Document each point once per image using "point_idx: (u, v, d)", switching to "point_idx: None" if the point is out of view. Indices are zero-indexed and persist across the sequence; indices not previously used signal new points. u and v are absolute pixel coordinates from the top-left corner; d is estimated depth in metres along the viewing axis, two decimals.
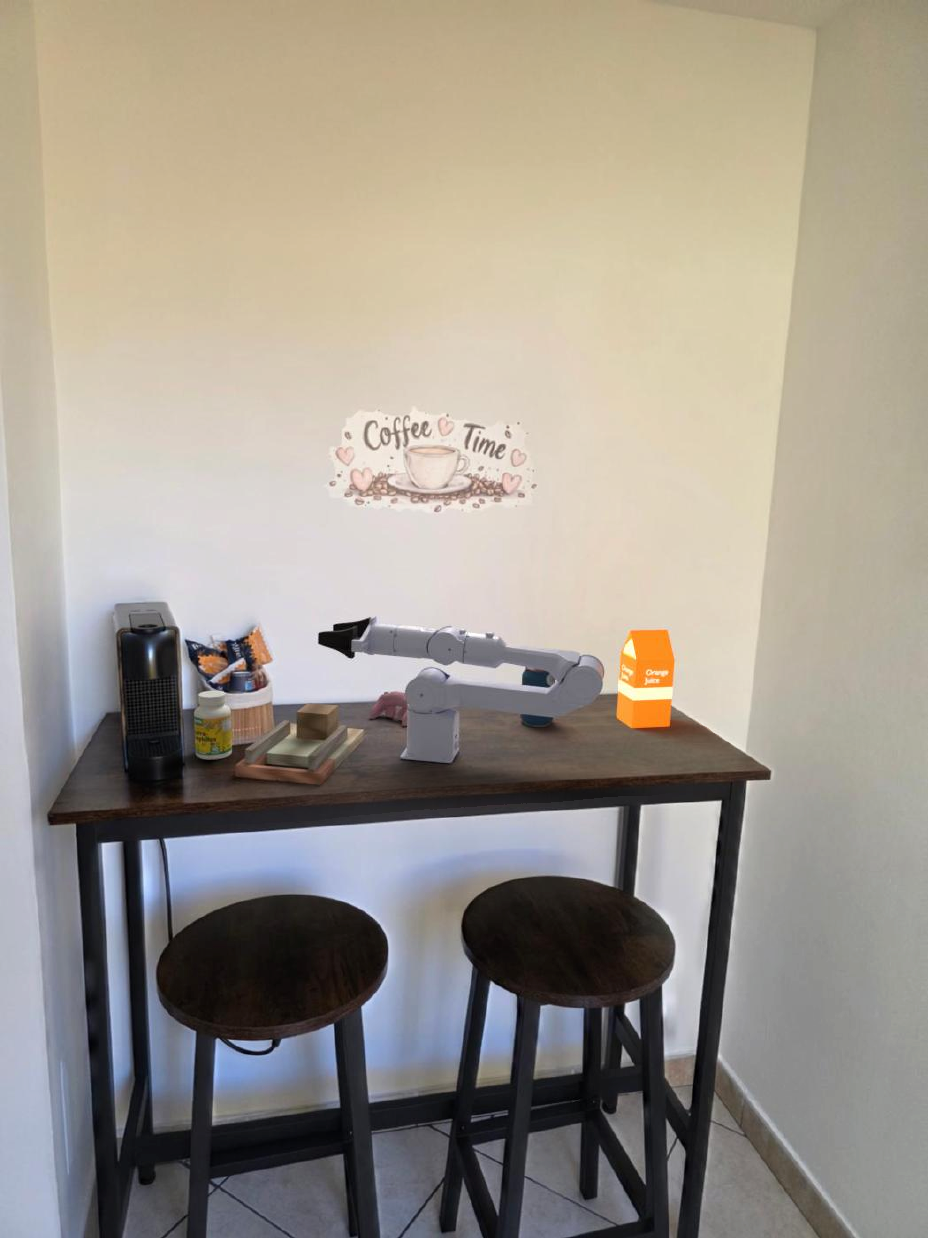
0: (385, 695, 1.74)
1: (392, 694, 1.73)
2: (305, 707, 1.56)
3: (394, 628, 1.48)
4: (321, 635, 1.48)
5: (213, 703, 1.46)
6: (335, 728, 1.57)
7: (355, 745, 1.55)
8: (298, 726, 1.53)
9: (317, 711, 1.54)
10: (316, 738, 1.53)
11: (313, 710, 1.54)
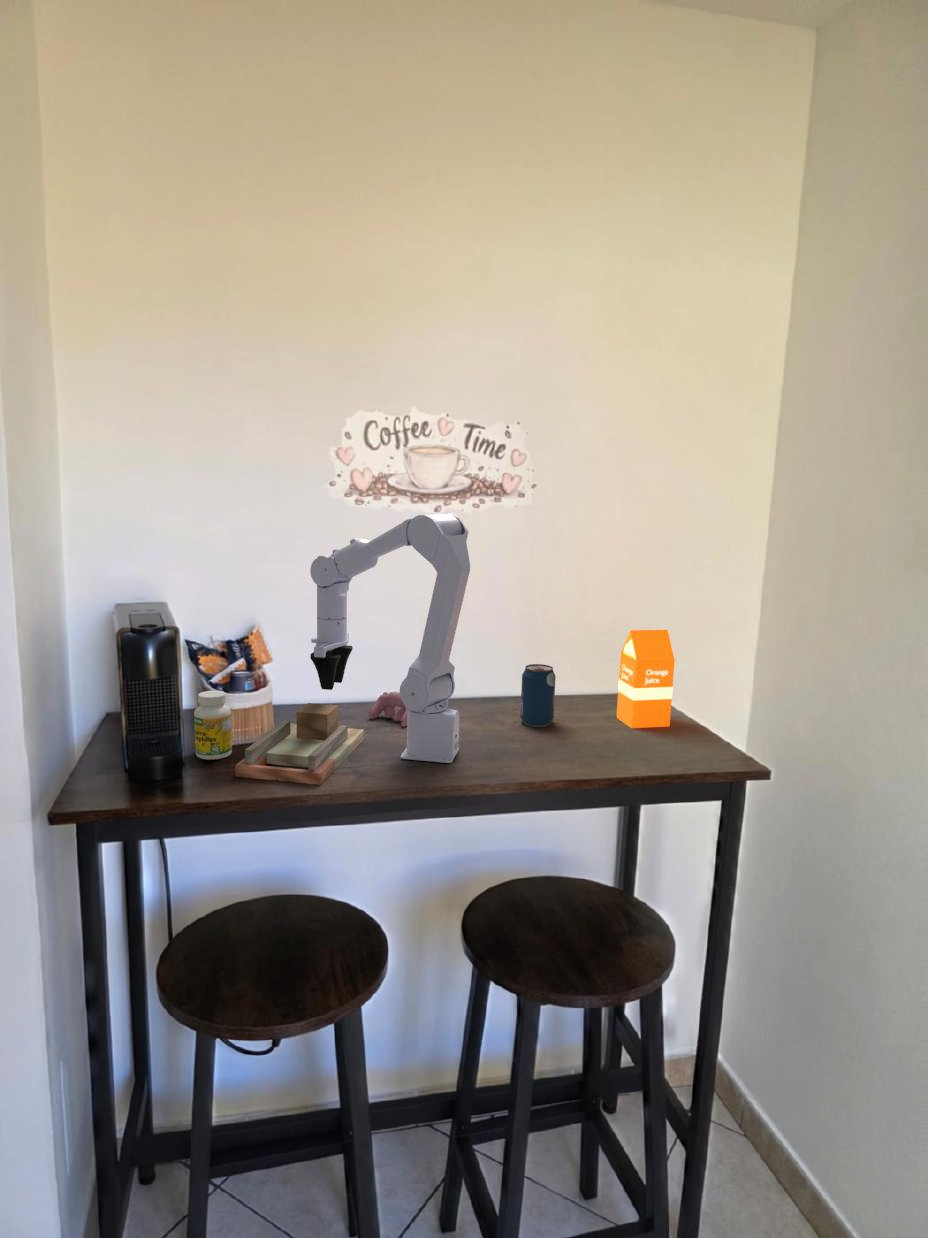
0: (384, 695, 1.73)
1: (391, 694, 1.72)
2: (305, 707, 1.56)
3: (317, 619, 1.59)
4: (323, 686, 1.59)
5: (213, 703, 1.46)
6: (335, 728, 1.57)
7: (355, 745, 1.55)
8: (298, 726, 1.53)
9: (317, 711, 1.54)
10: (316, 738, 1.53)
11: (313, 710, 1.54)
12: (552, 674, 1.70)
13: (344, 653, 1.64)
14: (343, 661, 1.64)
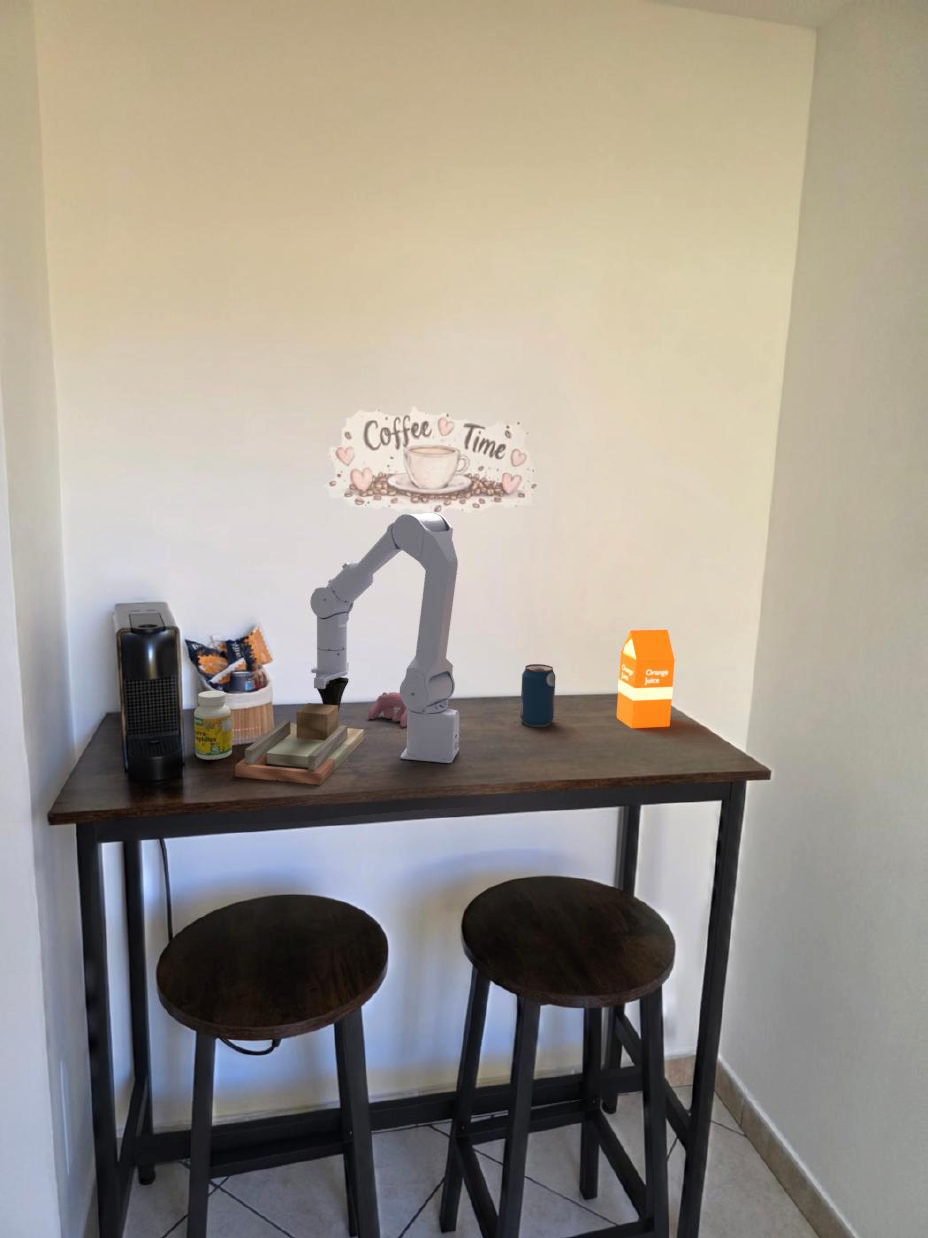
0: (383, 696, 1.73)
1: (390, 695, 1.72)
2: (305, 707, 1.56)
3: (317, 649, 1.60)
4: None
5: (213, 703, 1.46)
6: (335, 728, 1.57)
7: (355, 745, 1.55)
8: (298, 726, 1.53)
9: (317, 711, 1.54)
10: (316, 738, 1.53)
11: (313, 710, 1.54)
12: (552, 674, 1.70)
13: None
14: None
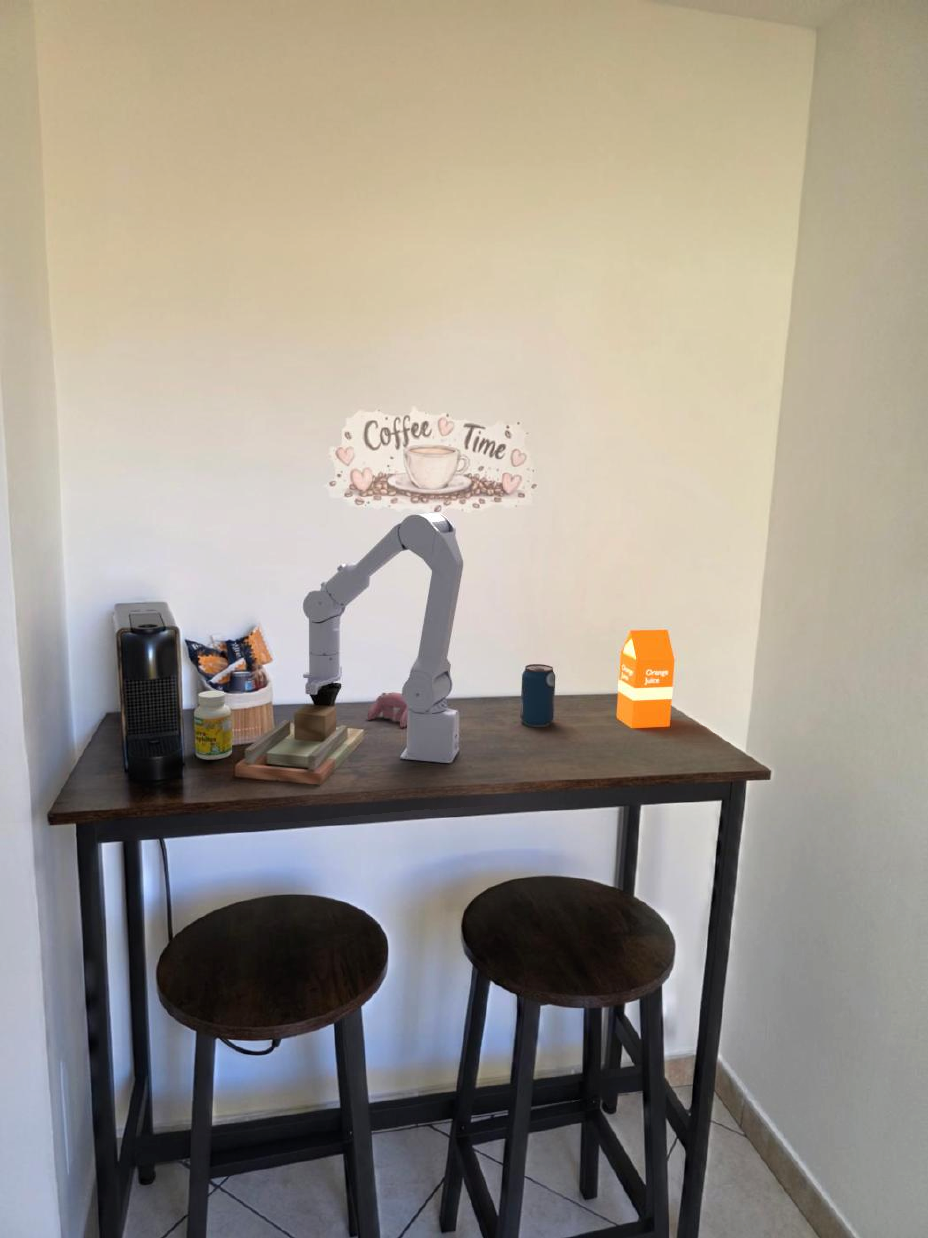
0: (383, 696, 1.73)
1: (390, 695, 1.72)
2: (303, 708, 1.55)
3: (309, 654, 1.56)
4: None
5: (213, 703, 1.46)
6: (333, 729, 1.56)
7: (355, 745, 1.55)
8: (296, 727, 1.52)
9: (315, 712, 1.53)
10: (314, 739, 1.52)
11: (311, 711, 1.53)
12: (552, 674, 1.70)
13: None
14: None
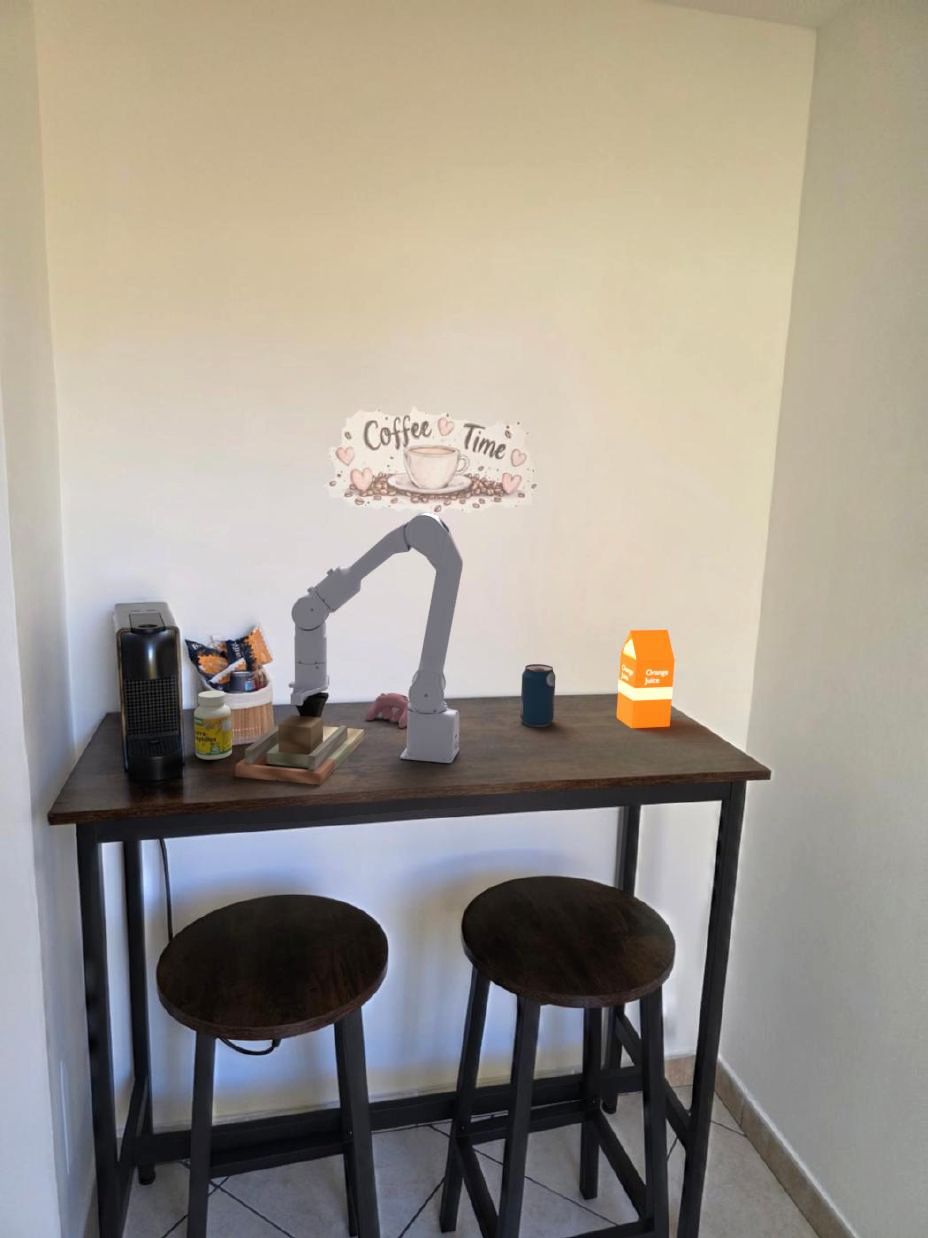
0: (382, 697, 1.73)
1: (389, 696, 1.72)
2: (288, 719, 1.48)
3: None
4: None
5: (213, 703, 1.46)
6: (320, 741, 1.49)
7: (355, 745, 1.55)
8: (280, 740, 1.45)
9: (300, 723, 1.46)
10: (299, 752, 1.45)
11: (296, 722, 1.46)
12: (552, 674, 1.70)
13: None
14: None
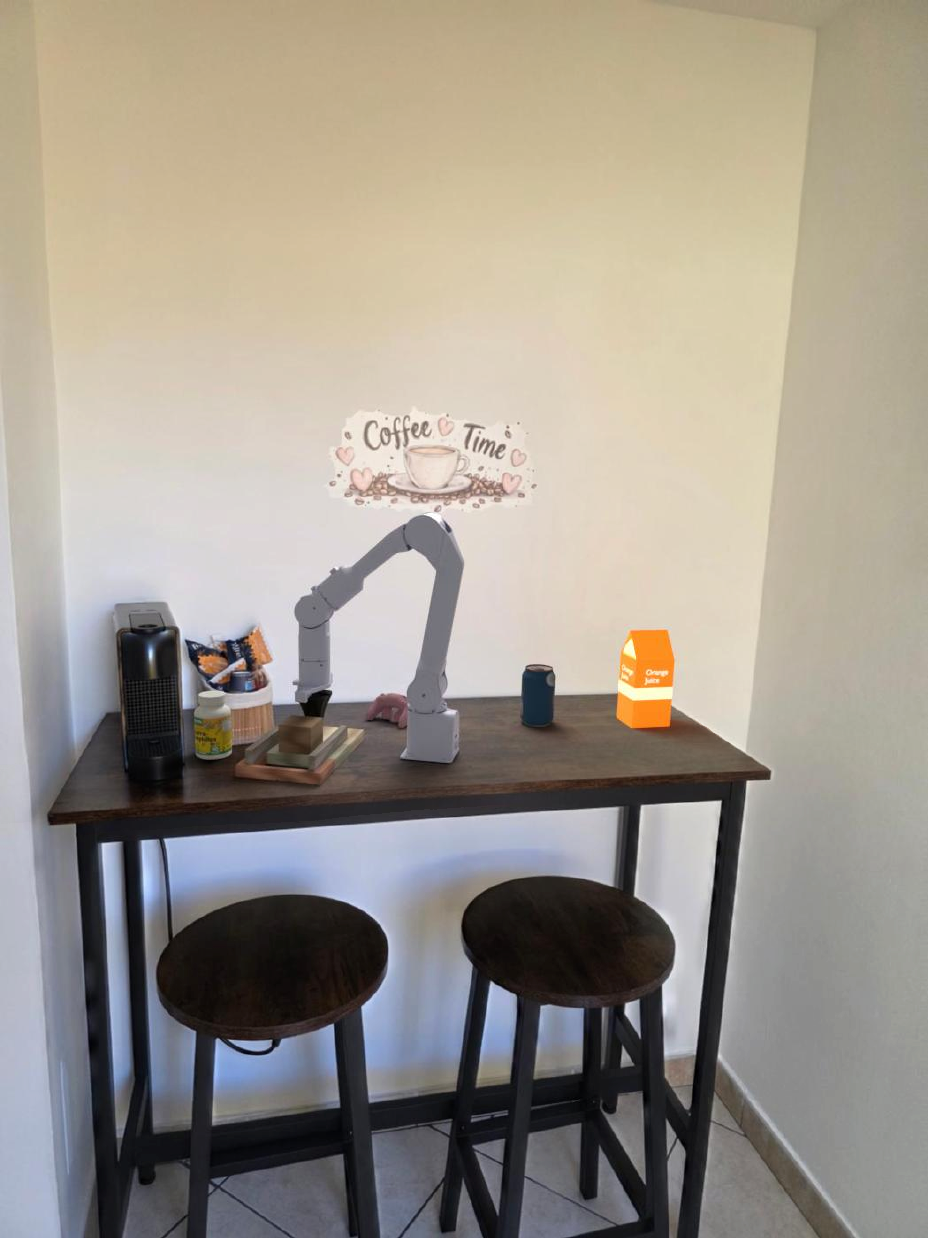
0: (381, 697, 1.72)
1: (388, 696, 1.72)
2: (288, 719, 1.48)
3: None
4: None
5: (213, 703, 1.46)
6: (320, 741, 1.49)
7: (355, 745, 1.55)
8: (280, 740, 1.45)
9: (300, 723, 1.46)
10: (299, 752, 1.45)
11: (296, 722, 1.46)
12: (552, 674, 1.70)
13: None
14: (322, 707, 1.53)
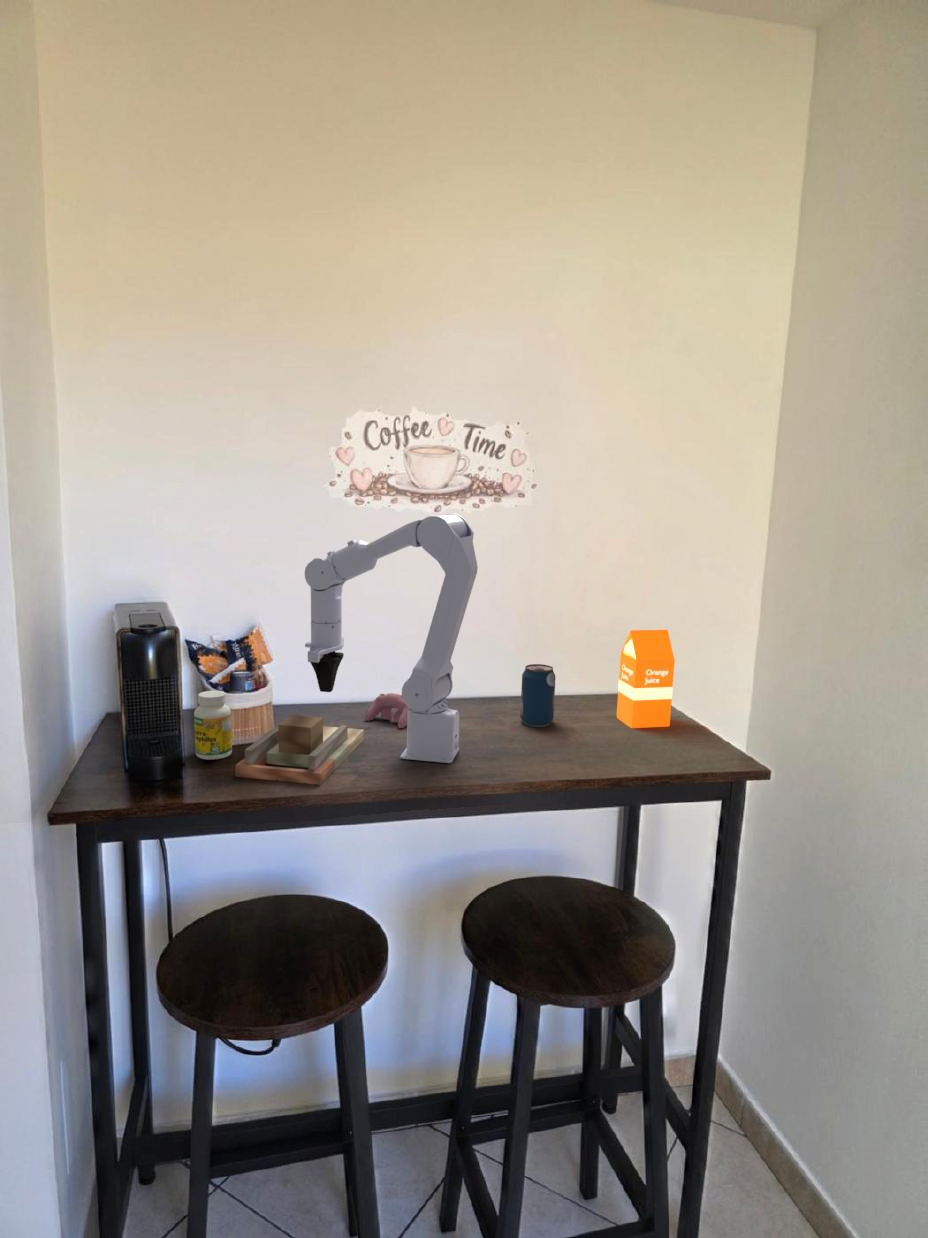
0: (381, 697, 1.72)
1: (388, 696, 1.71)
2: (288, 719, 1.48)
3: (311, 623, 1.55)
4: (321, 688, 1.58)
5: (213, 703, 1.46)
6: (320, 741, 1.49)
7: (355, 745, 1.55)
8: (280, 740, 1.45)
9: (300, 723, 1.46)
10: (299, 752, 1.45)
11: (296, 722, 1.46)
12: (552, 674, 1.70)
13: None
14: None
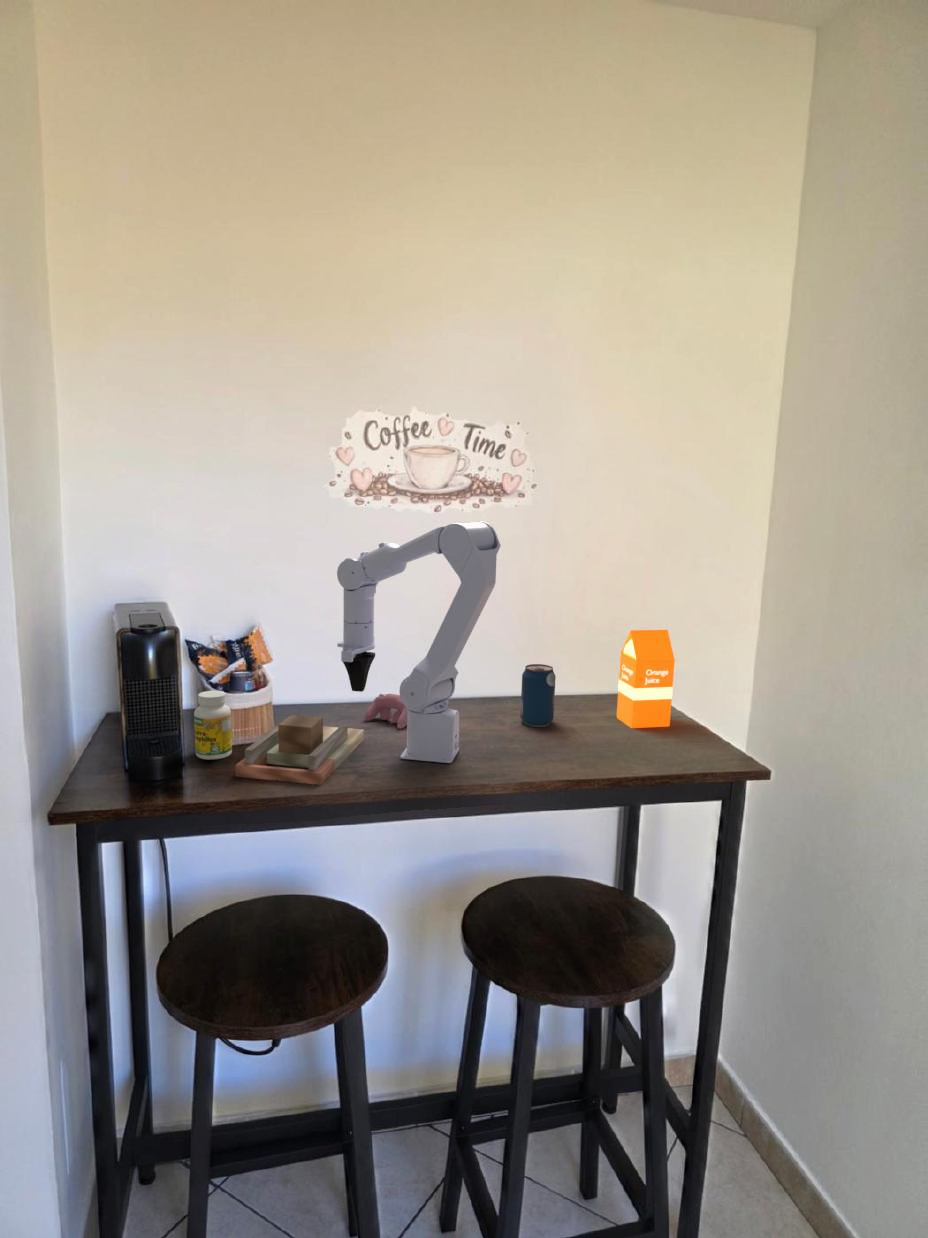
0: (380, 697, 1.72)
1: (387, 696, 1.71)
2: (288, 719, 1.48)
3: None
4: (353, 688, 1.59)
5: (213, 703, 1.46)
6: (320, 741, 1.49)
7: (355, 745, 1.55)
8: (280, 740, 1.45)
9: (300, 723, 1.46)
10: (299, 752, 1.45)
11: (296, 722, 1.46)
12: (552, 674, 1.70)
13: None
14: None
